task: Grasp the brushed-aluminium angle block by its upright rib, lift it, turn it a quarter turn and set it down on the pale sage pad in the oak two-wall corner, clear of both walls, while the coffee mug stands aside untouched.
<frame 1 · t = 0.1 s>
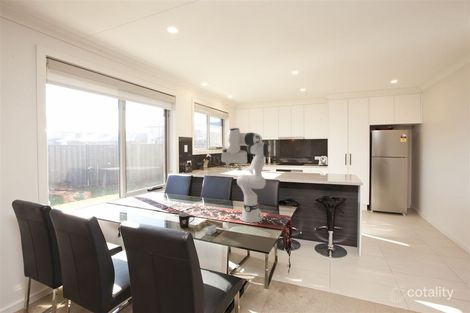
hand: (234, 169, 173), 48 cm above the table, fingers open, 8 cm apart
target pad: (207, 228, 183), on the table
bracket: (210, 233, 175), on the table
coffee mug: (186, 227, 186), on the table
corner walls: (206, 224, 192), on the table
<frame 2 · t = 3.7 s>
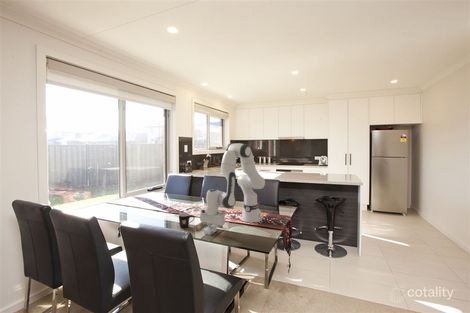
hand: (212, 229, 174), 3 cm above the table, fingers open, 3 cm apart
bracket: (210, 232, 175), on the table, touching gripper
everything else where it was.
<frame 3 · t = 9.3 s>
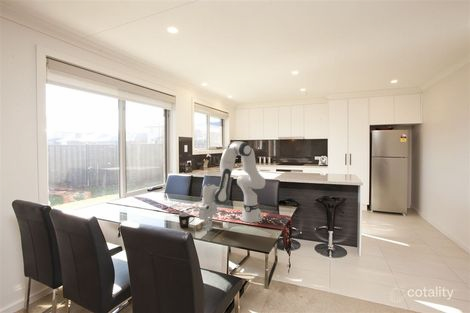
hand: (208, 221, 184), 5 cm above the table, fingers open, 4 cm apart
bracket: (207, 228, 183), resting on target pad
everything else where it was.
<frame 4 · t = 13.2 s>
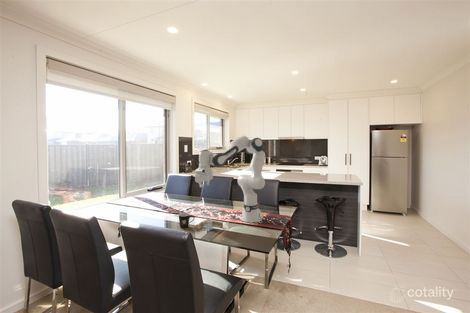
hand: (204, 186, 192), 31 cm above the table, fingers open, 8 cm apart
nothing on the table moved.
at the end: bracket 0.1 cm off-centre on the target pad, point 0.2 cm above the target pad's base; bracket tilted 0°; bracket touching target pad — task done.
